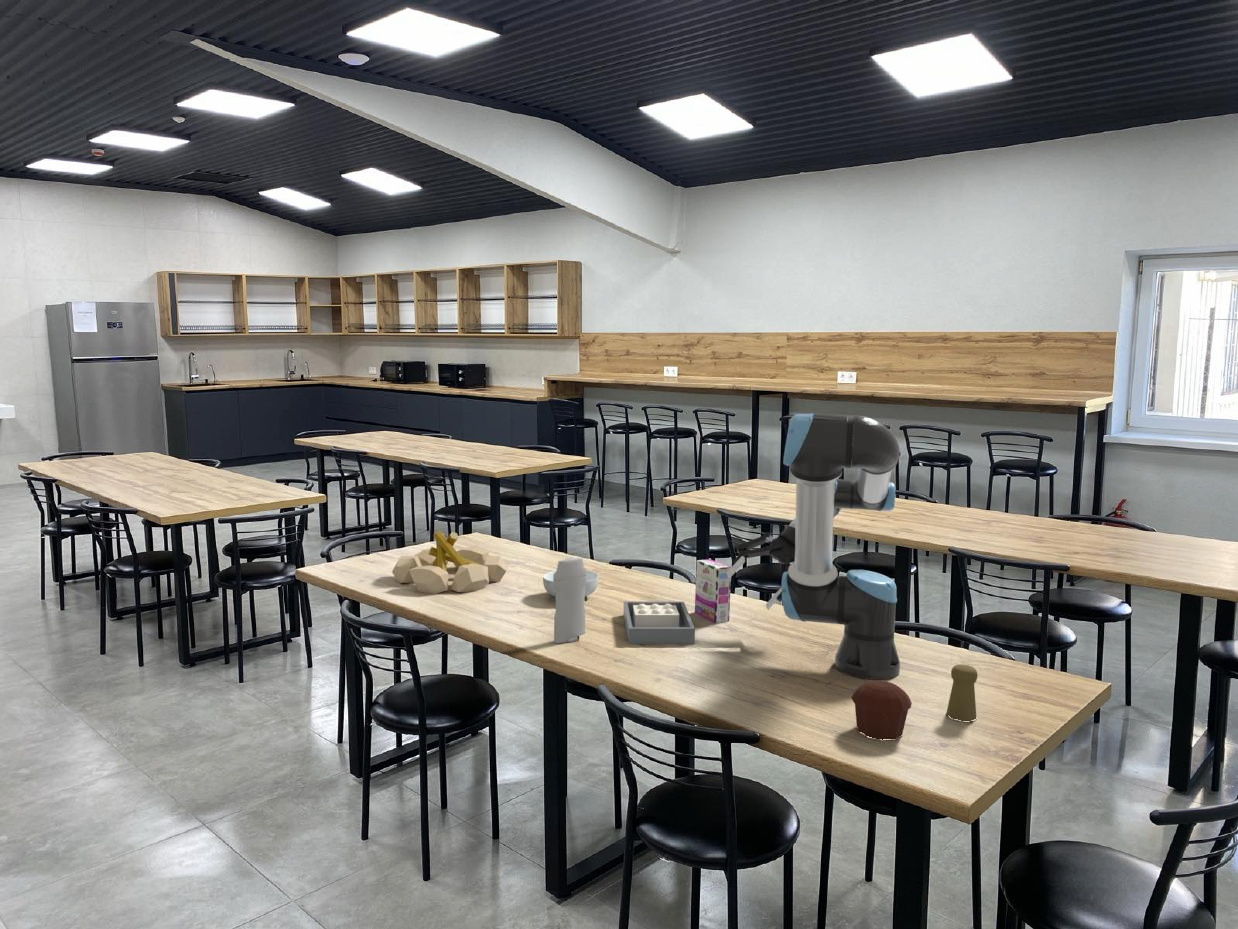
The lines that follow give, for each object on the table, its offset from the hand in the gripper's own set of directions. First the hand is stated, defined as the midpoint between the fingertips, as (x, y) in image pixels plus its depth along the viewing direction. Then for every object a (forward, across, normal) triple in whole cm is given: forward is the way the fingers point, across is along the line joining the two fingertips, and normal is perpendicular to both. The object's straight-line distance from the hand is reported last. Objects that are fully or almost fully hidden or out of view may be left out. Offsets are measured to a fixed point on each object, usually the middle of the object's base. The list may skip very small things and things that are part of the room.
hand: (747, 591), depth 233 cm
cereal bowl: (+30, +47, -25) cm, 61 cm away
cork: (-2, -60, +22) cm, 63 cm away
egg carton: (+21, +16, -9) cm, 28 cm away
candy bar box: (+8, +8, -18) cm, 21 cm away
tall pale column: (+41, +25, +5) cm, 48 cm away
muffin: (+14, -50, +32) cm, 61 cm away
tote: (+23, +12, -6) cm, 27 cm away
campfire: (+51, +85, -31) cm, 104 cm away
